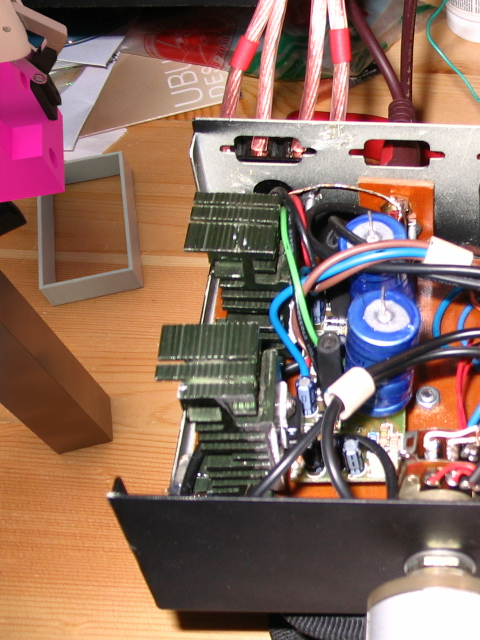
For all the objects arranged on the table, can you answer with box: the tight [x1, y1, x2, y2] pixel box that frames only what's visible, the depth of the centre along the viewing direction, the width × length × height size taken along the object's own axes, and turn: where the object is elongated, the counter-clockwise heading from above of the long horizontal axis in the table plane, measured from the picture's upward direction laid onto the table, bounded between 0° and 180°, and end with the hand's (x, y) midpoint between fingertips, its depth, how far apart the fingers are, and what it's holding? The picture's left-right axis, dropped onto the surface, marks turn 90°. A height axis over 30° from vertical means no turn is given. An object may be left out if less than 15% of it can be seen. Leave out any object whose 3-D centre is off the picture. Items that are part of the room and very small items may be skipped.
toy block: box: [0, 62, 66, 203], centre depth 72 cm, size 15×6×8 cm, turn 17°
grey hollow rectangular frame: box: [36, 150, 144, 307], centre depth 85 cm, size 9×18×3 cm, turn 17°
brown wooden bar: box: [0, 269, 114, 455], centre depth 64 cm, size 5×5×26 cm
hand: (12, 115), depth 72 cm, fingers closed on toy block, 6 cm apart
